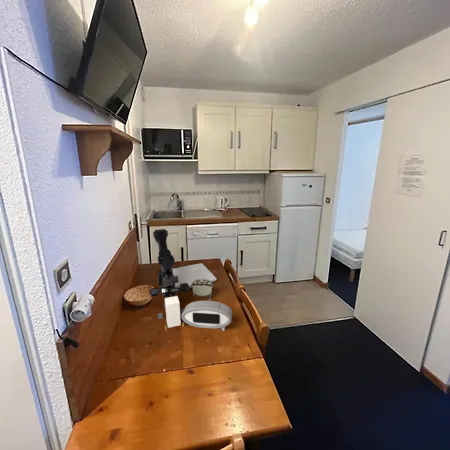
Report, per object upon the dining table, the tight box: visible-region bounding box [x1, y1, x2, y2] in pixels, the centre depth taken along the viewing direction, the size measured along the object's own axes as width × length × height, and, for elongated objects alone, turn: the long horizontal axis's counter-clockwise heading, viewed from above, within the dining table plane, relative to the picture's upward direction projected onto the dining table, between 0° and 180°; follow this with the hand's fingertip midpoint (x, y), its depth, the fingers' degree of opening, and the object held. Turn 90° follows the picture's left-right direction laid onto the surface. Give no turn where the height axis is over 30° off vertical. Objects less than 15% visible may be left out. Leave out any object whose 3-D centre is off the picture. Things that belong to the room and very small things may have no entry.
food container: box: [191, 279, 214, 301], centre depth 143 cm, size 12×6×10 cm, turn 84°
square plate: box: [173, 262, 217, 291], centre depth 164 cm, size 27×27×4 cm
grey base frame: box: [157, 301, 185, 331], centre depth 125 cm, size 26×13×3 cm, turn 19°
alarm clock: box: [181, 300, 233, 332], centre depth 118 cm, size 23×6×13 cm, turn 83°
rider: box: [164, 295, 182, 329], centre depth 118 cm, size 6×6×13 cm
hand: (171, 307), depth 121 cm, fingers closed, pressing on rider
